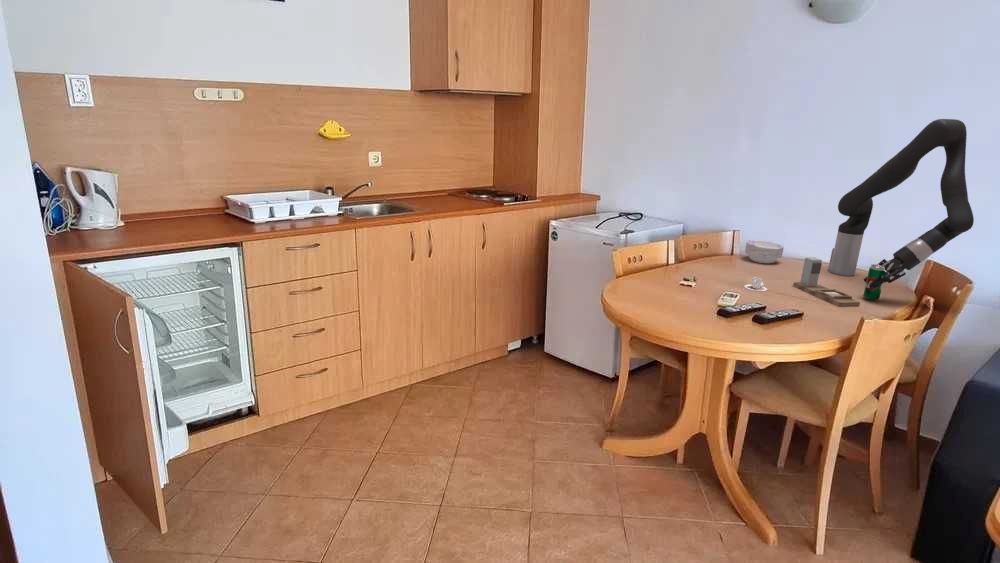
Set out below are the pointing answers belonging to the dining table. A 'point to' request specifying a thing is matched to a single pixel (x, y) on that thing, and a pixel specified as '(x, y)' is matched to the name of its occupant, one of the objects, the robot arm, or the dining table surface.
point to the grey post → (811, 271)
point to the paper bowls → (763, 251)
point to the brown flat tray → (829, 295)
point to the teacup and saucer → (756, 284)
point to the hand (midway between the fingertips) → (868, 284)
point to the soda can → (873, 274)
